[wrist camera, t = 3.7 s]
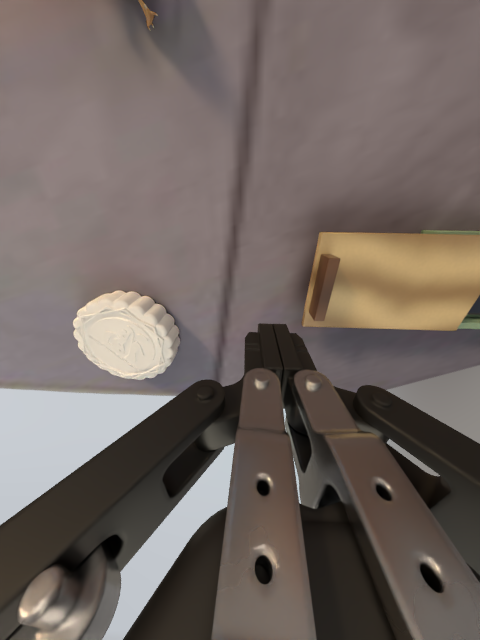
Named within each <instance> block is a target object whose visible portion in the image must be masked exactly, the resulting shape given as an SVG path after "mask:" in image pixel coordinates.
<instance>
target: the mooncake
mask: <svg viewBox="0 0 480 640" xmlns="http://www.w3.org/2000/svg"><path fill="white" fill-rule="evenodd" d="M77 316H78V317H77V318H76V319H74V321H73V325H74V327H75V331H74V337H75V338H76V339H77V340H78V341H79V342H78V346H79V348H80V349H81V350H82V351H83V353H84V354H86V356H87V358H88V359H89V360H90V361H93V363H94V364H96V365H97V366H98V367H99V368H101V369H103V370H108V371H109V372H110V373H111V374H112V375H116V376H120V377H123V378H126V379H132V378H133V379H138V380H143V379H145V378H146V377H147V378H153V377H155V376H156V375H157V374H161V373H163V372H164V371H165V370H166V368H167V367H168V366H169V365H170V364H171V363H172V361H173V359H174V357H175V355H176V353H177V351H178V346H179V344H180V338H179V337H178V334H179V329H178V327H177V326H176V325H174V322H175V321H174V318H173V317H172V316H171V315H170V314H167V313H166V309H165V308H164V307H163V306H162V305H160V304H155V302H154V300H153V299H152V298H150V297H148V296H142V297H141V296H140V295H139V294H138V293H136V292H133V291H131V292H128V293H125V292H124V291H120V290H118V291H115V292H113V293H111V294H110V293H106V294H103V295H101V296H99V297H98V298H96V299H94V300H92V301H90V302H88V303H87V305H86V306H85V307H83V308H81V309H79V310H78V312H77Z"/></svg>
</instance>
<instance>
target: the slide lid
mask: <svg viewBox="0 0 480 640" xmlns="http://www.w3.org/2000/svg"><path fill="white" fill-rule="evenodd" d="M479 295H480V235H464V234H409V233H354V232H320V233H319V238H318V243H317V248H316V253H315V258H314V263H313V268H312V273H311V278H310V283H309V288H308V293H307V298H306V303H305V308H304V314H303V319H302V326H306V327H341V328H376V329H411V330H446V331H456V330H457V328H458V327H459V325H460V324H461V322H462V321H463V319H464V318H465V316H466V315H467V313H468V312H469V310H470V309H471V307H472V306H473V304H474V303H475V301H476V300H477V298H478V297H479Z"/></svg>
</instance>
